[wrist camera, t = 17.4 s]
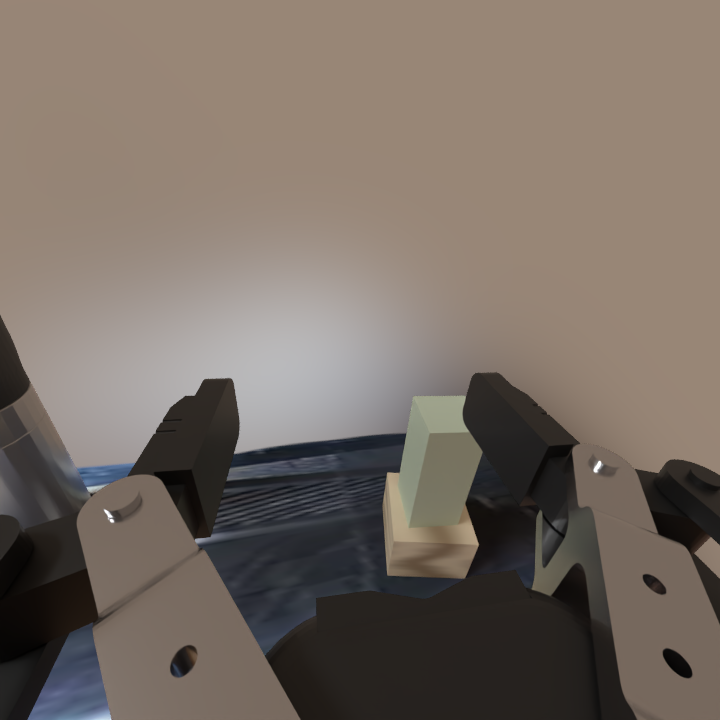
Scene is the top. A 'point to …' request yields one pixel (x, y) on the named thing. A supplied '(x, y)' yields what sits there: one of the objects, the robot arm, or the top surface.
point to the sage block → (437, 462)
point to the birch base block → (425, 542)
